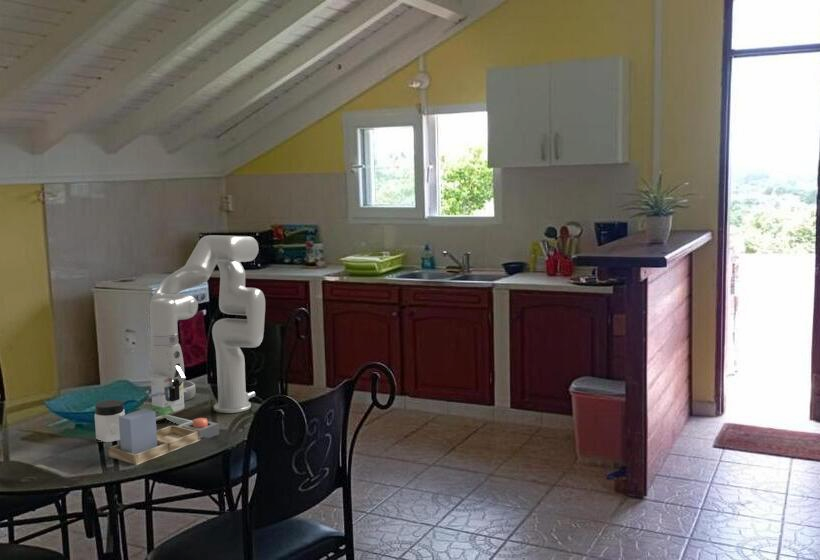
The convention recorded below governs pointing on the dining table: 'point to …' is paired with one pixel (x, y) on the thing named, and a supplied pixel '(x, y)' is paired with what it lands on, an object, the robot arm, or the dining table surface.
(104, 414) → the jar
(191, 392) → the dish
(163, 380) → the ink box
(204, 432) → the grey square frame
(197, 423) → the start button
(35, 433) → the dining table surface
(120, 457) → the wooden compartment tray
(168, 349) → the robot arm
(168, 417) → the pale green square frame
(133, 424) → the seated billet
